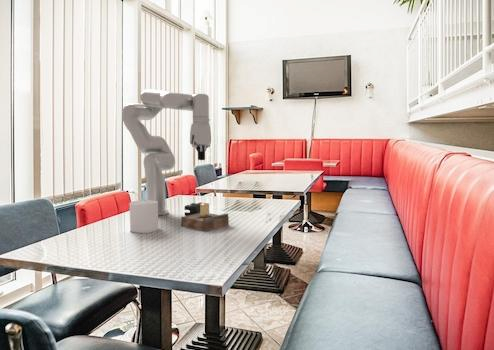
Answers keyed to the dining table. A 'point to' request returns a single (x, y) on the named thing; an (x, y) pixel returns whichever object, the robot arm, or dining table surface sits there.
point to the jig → (205, 221)
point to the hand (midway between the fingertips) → (201, 159)
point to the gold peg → (204, 210)
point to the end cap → (192, 209)
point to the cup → (143, 216)
